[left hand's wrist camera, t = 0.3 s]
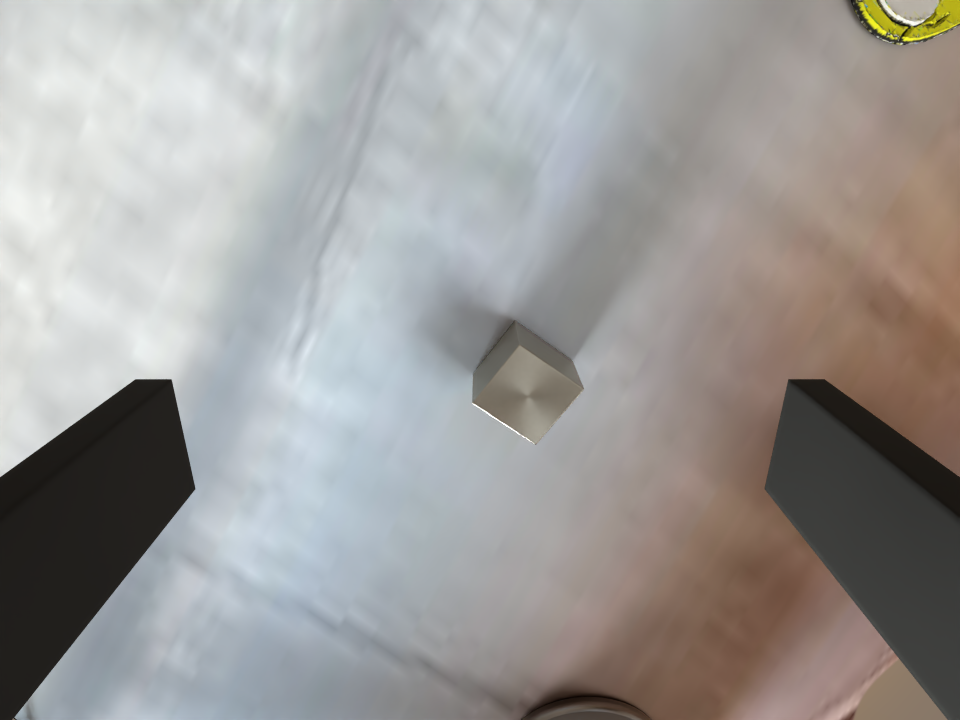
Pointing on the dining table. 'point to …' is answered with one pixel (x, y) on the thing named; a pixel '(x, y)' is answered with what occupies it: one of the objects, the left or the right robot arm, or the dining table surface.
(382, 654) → the dining table surface
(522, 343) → the block
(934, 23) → the toy
